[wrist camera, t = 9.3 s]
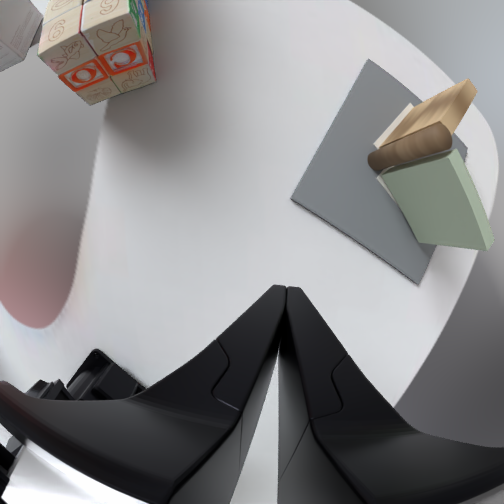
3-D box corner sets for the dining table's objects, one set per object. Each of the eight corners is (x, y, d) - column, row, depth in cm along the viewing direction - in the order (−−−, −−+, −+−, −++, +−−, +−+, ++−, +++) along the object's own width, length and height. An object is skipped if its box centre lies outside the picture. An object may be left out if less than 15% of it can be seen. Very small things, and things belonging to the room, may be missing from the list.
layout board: (416, 283, 22) (419, 284, 22) (290, 198, 20) (291, 197, 20) (465, 148, 22) (468, 147, 21) (366, 60, 20) (369, 58, 19)
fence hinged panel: (380, 175, 20) (448, 157, 12) (389, 168, 20) (456, 148, 12) (418, 242, 21) (487, 251, 13) (426, 234, 21) (494, 240, 13)
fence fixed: (376, 174, 21) (446, 155, 12) (364, 159, 20) (430, 132, 12) (421, 119, 21) (482, 92, 12) (411, 106, 20) (469, 74, 12)
